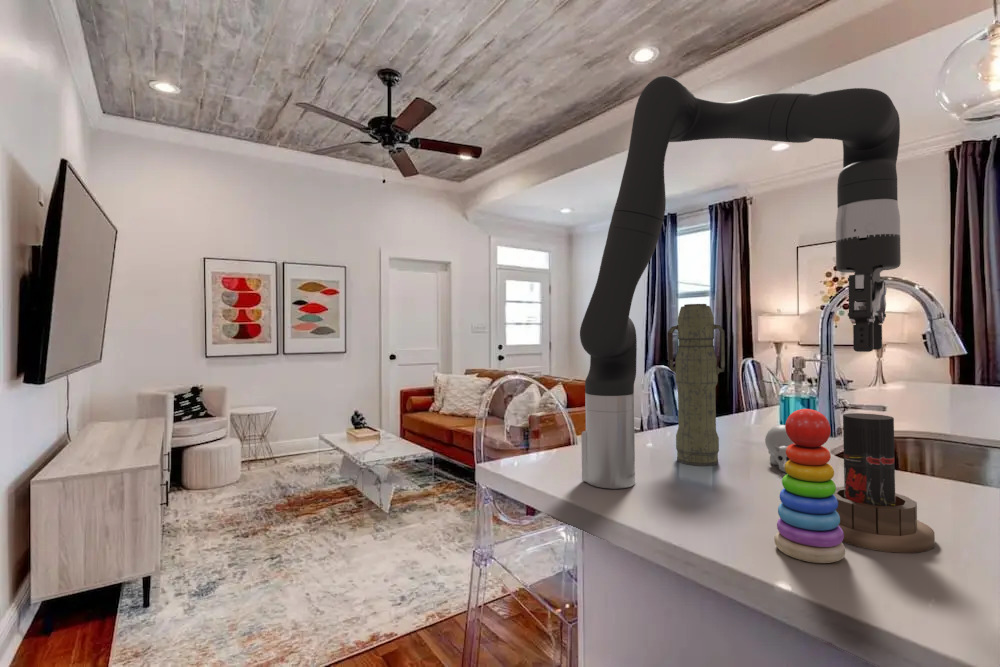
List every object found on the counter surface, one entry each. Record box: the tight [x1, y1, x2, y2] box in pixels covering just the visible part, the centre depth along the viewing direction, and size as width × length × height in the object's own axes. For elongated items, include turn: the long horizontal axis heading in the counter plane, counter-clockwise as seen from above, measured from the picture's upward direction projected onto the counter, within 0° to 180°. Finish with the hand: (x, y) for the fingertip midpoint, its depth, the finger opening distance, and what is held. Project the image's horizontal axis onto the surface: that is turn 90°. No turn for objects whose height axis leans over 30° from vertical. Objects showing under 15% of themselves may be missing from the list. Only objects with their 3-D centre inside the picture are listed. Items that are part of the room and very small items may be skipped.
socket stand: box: [833, 486, 936, 554], centre depth 74 cm, size 14×14×5 cm
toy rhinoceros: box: [764, 424, 795, 474], centre depth 110 cm, size 7×12×8 cm, turn 151°
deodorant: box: [842, 412, 896, 507], centre depth 74 cm, size 6×6×15 cm
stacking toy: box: [774, 408, 847, 564], centre depth 68 cm, size 8×8×19 cm
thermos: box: [667, 303, 726, 467], centre depth 116 cm, size 9×12×35 cm
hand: (868, 350), depth 74 cm, fingers open, 8 cm apart
